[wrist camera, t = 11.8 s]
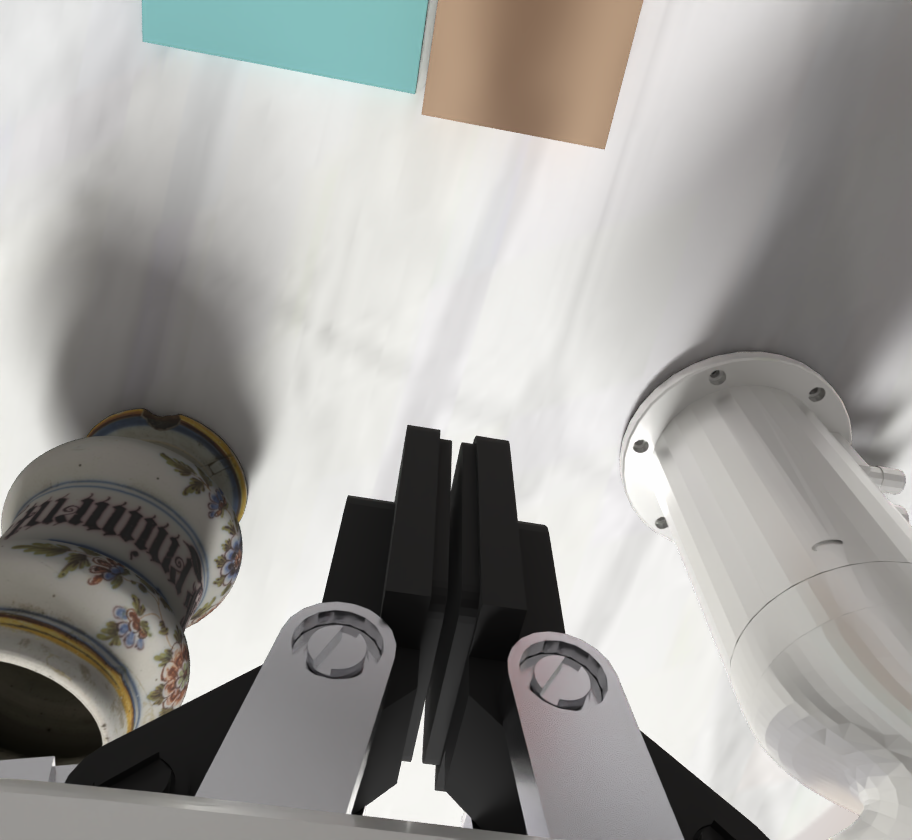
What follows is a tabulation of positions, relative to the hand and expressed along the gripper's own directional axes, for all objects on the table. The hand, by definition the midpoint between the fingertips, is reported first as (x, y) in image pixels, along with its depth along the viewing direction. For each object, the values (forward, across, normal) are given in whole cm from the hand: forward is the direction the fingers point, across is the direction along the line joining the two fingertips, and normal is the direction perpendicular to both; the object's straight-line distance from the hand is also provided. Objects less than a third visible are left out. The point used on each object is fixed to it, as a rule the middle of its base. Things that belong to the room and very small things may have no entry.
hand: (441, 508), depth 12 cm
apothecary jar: (+27, +14, +20) cm, 37 cm away
